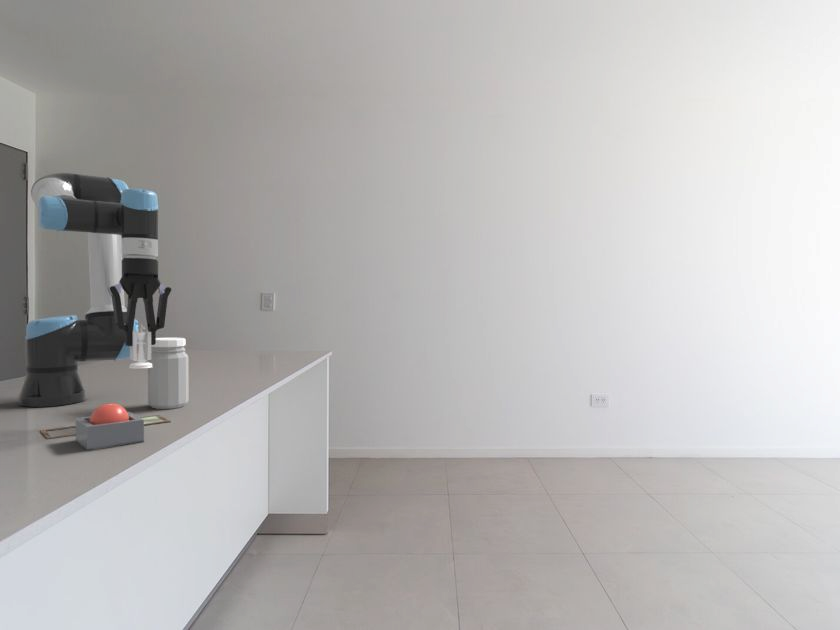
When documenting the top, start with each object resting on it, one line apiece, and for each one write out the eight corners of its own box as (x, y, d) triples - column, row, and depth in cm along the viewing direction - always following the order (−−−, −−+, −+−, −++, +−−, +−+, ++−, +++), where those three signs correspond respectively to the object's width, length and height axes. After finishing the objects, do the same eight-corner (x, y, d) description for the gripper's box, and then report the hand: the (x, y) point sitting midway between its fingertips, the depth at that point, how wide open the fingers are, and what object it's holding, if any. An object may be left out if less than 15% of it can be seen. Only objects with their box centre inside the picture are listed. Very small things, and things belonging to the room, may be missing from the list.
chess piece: (142, 369, 126) (142, 324, 126) (123, 368, 127) (124, 324, 127) (157, 366, 131) (157, 324, 131) (139, 365, 132) (139, 323, 132)
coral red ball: (85, 437, 113) (85, 403, 113) (123, 432, 118) (123, 399, 117) (94, 444, 108) (93, 408, 108) (133, 438, 112) (133, 404, 112)
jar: (140, 409, 144) (139, 339, 143) (162, 402, 154) (161, 336, 153) (175, 410, 143) (175, 340, 142) (195, 403, 153) (195, 337, 152)
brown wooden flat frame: (40, 431, 120) (40, 430, 120) (158, 415, 136) (158, 414, 136) (47, 439, 114) (47, 438, 114) (170, 421, 130) (170, 421, 130)
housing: (75, 440, 113) (75, 418, 113) (129, 432, 120) (129, 411, 120) (87, 450, 106) (87, 427, 105) (143, 441, 112) (143, 419, 112)
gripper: (106, 255, 120) (107, 363, 121) (180, 259, 131) (180, 359, 131) (98, 256, 126) (99, 360, 127) (169, 260, 136) (170, 356, 137)
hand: (140, 359), depth 129 cm, fingers closed on chess piece, 2 cm apart
